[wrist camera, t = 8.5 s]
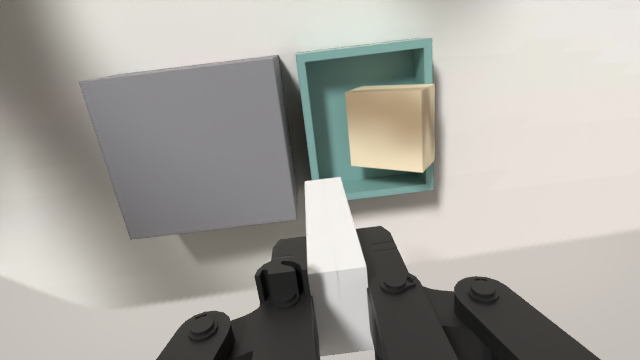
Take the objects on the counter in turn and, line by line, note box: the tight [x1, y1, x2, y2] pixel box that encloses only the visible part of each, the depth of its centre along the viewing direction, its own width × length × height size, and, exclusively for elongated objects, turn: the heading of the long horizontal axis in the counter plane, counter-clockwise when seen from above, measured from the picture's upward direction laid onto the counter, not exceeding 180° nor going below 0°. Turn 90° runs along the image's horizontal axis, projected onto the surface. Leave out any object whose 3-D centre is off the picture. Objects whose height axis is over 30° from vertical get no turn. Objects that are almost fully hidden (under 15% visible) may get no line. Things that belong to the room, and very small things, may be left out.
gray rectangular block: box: [79, 55, 298, 239], centre depth 30 cm, size 12×13×6 cm
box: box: [296, 38, 433, 200], centre depth 31 cm, size 12×10×4 cm
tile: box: [345, 84, 435, 173], centre depth 30 cm, size 6×6×3 cm
